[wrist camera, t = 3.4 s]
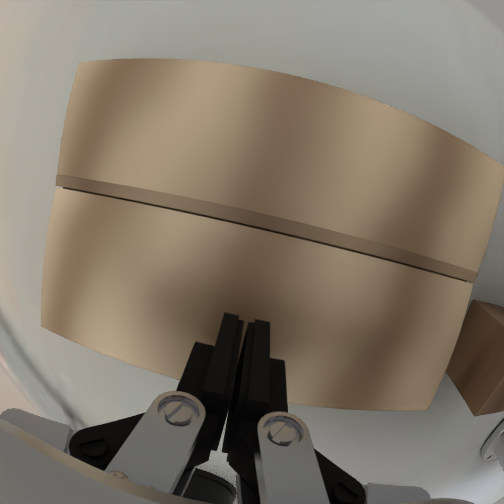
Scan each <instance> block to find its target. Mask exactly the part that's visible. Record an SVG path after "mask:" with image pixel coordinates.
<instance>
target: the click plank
mask: <svg viewBox="0 0 504 504" xmlns="http://www.w3.org/2000/svg"><path fill="white" fill-rule="evenodd" d="M472 287H473V284H471V283H467V280H463V279H460V278H456V277H453V276H449V275H446V274H442V273H439V272H435V271H431V270H428V269H424V268H421V267H417V266H413V265H409V264H406V263H402V262H398V261H395V260H391V259H387V258H383V257H379V256H376V255H372V254H368V253H364V252H360V251H356V250H352V249H348V248H344V247H340V246H336V245H332V244H328V243H324V242H320V241H316V240H312V239H308V238H304V237H300V236H295V235H291V234H287V233H283V232H278V231H274V230H270V229H266V228H261V227H257V226H253V225H248V224H244V223H239V222H235V221H230V220H226V219H221V218H217V217H212V216H208V215H203V214H199V213H194V212H189V211H184V210H180V209H175V208H170V207H165V206H160V205H156V204H151V203H146V202H141V201H136V200H131V199H126V198H121V197H115V196H110V195H105V194H100V193H94V192H89V191H84V190H78V189H73V188H67V187H63V189H62V188H57V187H56V190H55V195H54V199H53V204H52V210H51V215H50V221H49V227H48V233H47V240H46V248H45V257H44V267H43V280H42V299H41V326H42V327H44V328H46V329H48V330H50V331H52V332H54V333H56V334H58V335H60V336H62V337H64V338H67V339H69V340H71V341H73V342H75V343H78V344H80V345H82V346H85V347H87V348H89V349H92V350H94V351H97V352H99V353H102V354H104V355H107V356H109V357H112V358H114V359H117V360H120V361H123V362H125V363H128V364H131V365H134V366H137V367H140V368H143V369H146V370H149V371H152V372H155V373H158V374H161V375H165V376H168V377H171V378H175V379H178V380H180V379H181V377H182V374H183V372H184V369H185V366H186V364H187V361H188V359H189V356H190V353H191V351H192V348H193V346H194V343H195V342H196V341H197V342H200V343H205V344H209V345H213V346H215V343H216V340H217V336H218V333H219V329H220V326H221V322H222V319H223V315H224V312H226V313H231V314H235V315H239V320H244V325H243V331H242V337H241V344H240V350H239V356H238V361H239V357H240V353H241V349H242V345H243V341H244V337H245V333H246V330H247V326H248V322H253V323H254V321H255V319H258V320H263V321H268V322H270V358H275V359H281V360H284V361H285V368H286V386H287V403H292V404H300V405H308V406H317V407H327V408H338V409H353V410H375V411H416V410H428V408H429V406H430V404H431V402H432V400H433V398H434V396H435V394H436V392H437V389H438V387H439V385H440V383H441V380H442V378H443V376H444V373H445V371H446V368H447V366H448V363H449V361H450V358H451V356H452V353H453V350H454V348H455V345H456V342H457V339H458V336H459V333H460V330H461V327H462V324H463V320H464V317H465V314H466V310H467V307H468V303H469V299H470V295H471V291H472ZM237 364H238V363H237Z"/></svg>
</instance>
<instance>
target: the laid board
mask: <svg viewBox="0 0 504 504" xmlns="http://www.w3.org/2000/svg"><path fill="white" fill-rule="evenodd" d="M503 182H504V166H503V165H501V164H500V163H498V162H497V161H495V160H494V159H492V158H491V157H489V156H488V155H486V154H484V153H483V152H481V151H480V150H478V149H476V148H475V147H473V146H471V145H470V144H468V143H466V142H464V141H463V140H461V139H459V138H457V137H455V136H453V135H452V134H450V133H448V132H446V131H444V130H442V129H440V128H438V127H436V126H434V125H432V124H430V123H428V122H426V121H424V120H422V119H419V118H417V117H415V116H413V115H411V114H408V113H406V112H404V111H401V110H399V109H396V108H394V107H392V106H389V105H387V104H384V103H381V102H379V101H376V100H373V99H371V98H368V97H365V96H362V95H359V94H356V93H354V92H350V91H347V90H344V89H341V88H338V87H335V86H331V85H328V84H324V83H321V82H317V81H313V80H309V79H305V78H301V77H297V76H293V75H289V74H284V73H279V72H275V71H269V70H264V69H259V68H253V67H247V66H240V65H233V64H225V63H217V62H207V61H196V60H181V59H113V60H99V61H88V62H79V65H78V68H77V72H76V75H75V79H74V83H73V87H72V91H71V95H70V99H69V103H68V108H67V113H66V118H65V123H64V128H63V134H62V141H61V147H60V154H59V163H58V172H57V177H56V186H61V187H67V188H73V189H78V190H84V191H89V192H94V193H100V194H105V195H110V196H115V197H121V198H126V199H131V200H136V201H141V202H146V203H151V204H156V205H160V206H165V207H170V208H175V209H180V210H184V211H189V212H194V213H199V214H203V215H208V216H212V217H217V218H221V219H226V220H230V221H235V222H239V223H244V224H248V225H253V226H257V227H261V228H266V229H270V230H274V231H278V232H283V233H287V234H291V235H295V236H300V237H304V238H308V239H312V240H316V241H320V242H324V243H328V244H332V245H336V246H340V247H344V248H348V249H352V250H356V251H360V252H364V253H368V254H372V255H376V256H379V257H383V258H387V259H391V260H395V261H398V262H402V263H406V264H409V265H413V266H417V267H421V268H424V269H428V270H431V271H435V272H439V273H442V274H446V275H449V276H453V277H456V278H460V279H463V280H467V281H470V282H475V280H476V277H477V275H478V271H479V268H480V265H481V262H482V260H483V257H484V254H485V251H486V248H487V245H488V242H489V238H490V235H491V232H492V228H493V225H494V221H495V217H496V213H497V209H498V205H499V201H500V197H501V192H502V187H503Z"/></svg>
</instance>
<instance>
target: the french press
mask: <svg viewBox="0 0 504 504" xmlns="http://www.w3.org/2000/svg"><path fill="white" fill-rule="evenodd" d="M183 497H184V498H188V499H192V500H197V501H201V502H206V503H212V504H233V501H234V500H235V498H236V490H235V488H234V487H233V486H232V485H231V484H230V483H228V482H227V481H225V480H223V479H222V478H220V477H217V476H215V475H213V474H210V473H208V472H205V471H202V470H198V469H195V471H194V473H193V475H192V477H191V479H190V482H189V484H188V486H187V488H186V490H185V493H184V495H183Z"/></svg>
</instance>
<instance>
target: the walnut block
mask: <svg viewBox="0 0 504 504" xmlns="http://www.w3.org/2000/svg"><path fill="white" fill-rule="evenodd" d="M446 372H447V374H448V375H449V377H450V378H451V380H452V382H453V383H454V385H455V386H456V388H457V389H458V391H459V392H460V394H461V396H462V397H463V399H464V400H465V402H466V404H467V405H468V407H469V408H470V410H471V412H472V413H473V415H474V416H479V415H485V414H491V413H496V412H501V411H504V307H502V306H498V305H494V304H489V303H485V302H481V301H477V300H473V301H472V303H471V306H470V308H469V310H468V312H467V314H466V316H465V319H464V321H463V324H462V327H461V330H460V333H459V336H458V339H457V342H456V345H455V348H454V350H453V353H452V356H451V358H450V361H449V363H448V366H447V368H446Z"/></svg>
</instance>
